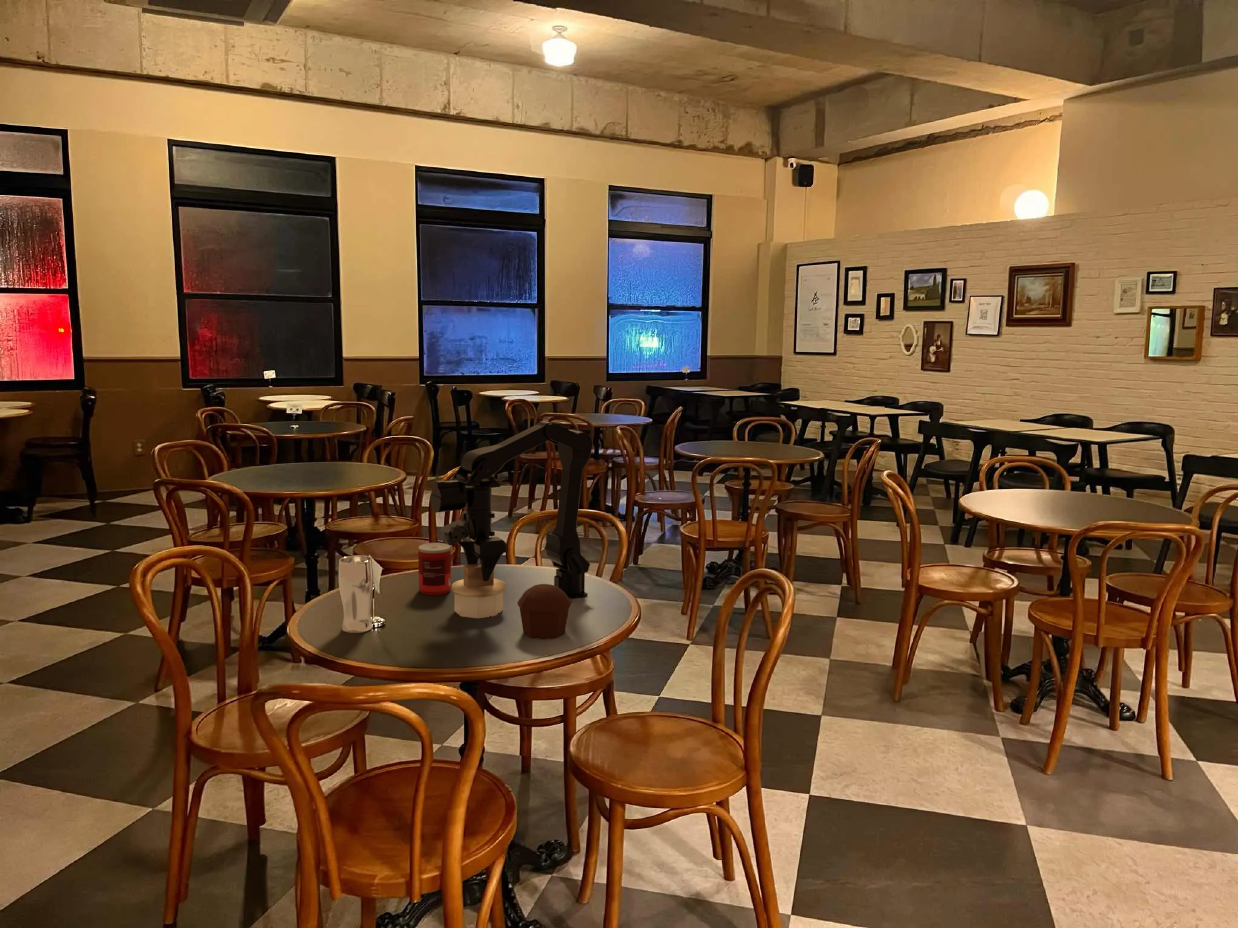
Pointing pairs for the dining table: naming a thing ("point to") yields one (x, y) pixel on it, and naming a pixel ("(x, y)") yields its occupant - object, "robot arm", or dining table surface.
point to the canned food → (434, 568)
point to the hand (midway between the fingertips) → (478, 576)
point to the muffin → (544, 611)
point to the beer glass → (356, 592)
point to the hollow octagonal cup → (478, 606)
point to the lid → (477, 583)
